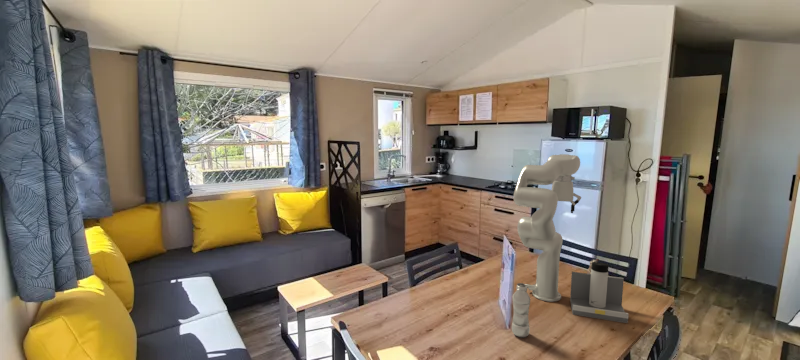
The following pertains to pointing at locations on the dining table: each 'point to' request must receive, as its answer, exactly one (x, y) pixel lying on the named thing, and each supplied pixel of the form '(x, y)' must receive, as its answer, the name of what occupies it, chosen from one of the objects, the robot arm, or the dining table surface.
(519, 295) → the plastic bottle
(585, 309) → the grey bookend
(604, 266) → the travel mug
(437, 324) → the dining table surface
